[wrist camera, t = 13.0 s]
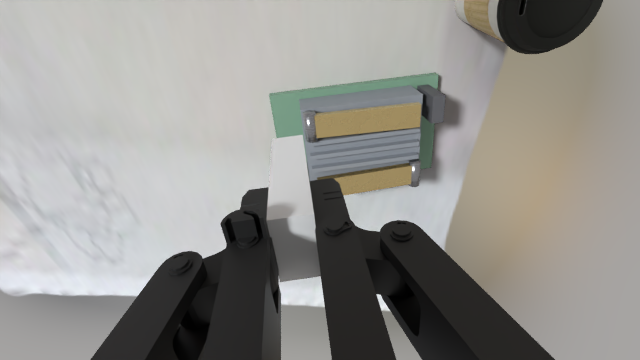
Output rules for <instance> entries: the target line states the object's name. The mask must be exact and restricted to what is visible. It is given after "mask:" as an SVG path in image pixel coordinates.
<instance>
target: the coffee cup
mask: <svg viewBox="0 0 640 360" xmlns="http://www.w3.org/2000/svg"><path fill="white" fill-rule="evenodd" d="M602 2H603V0H455V11H456V13H457V15H458V17H459V18H460V19H461V20H462V21H464V22H465V23H468V24H470V25H471V26H472V27H474V28H476V29H478V30H480V31H482V32H484V33H486V34H488V35H490V36H492V37H494V38H496V39H498V40H500V41H502V42H504V43H505V44H507V45H508V46H509V47H510V48H511V49H513V50H515V51H517V52H519V53H524V54H539V53H544V52H548V51H550V50H552V49H555V48H558V47H561V46H563V45H565V44H567V43H569V42H570V41H572V40H574V39H575V38H576V37H577V36H579V34H581V33H582V32H583V31H584V30H585V29H586V28H587V27H588V26H589V25H590V23H591V22H592V20H593V19H594V17H595V16H596V14H597V12H598V11H599V9H600V7H601V4H602Z"/></svg>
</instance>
